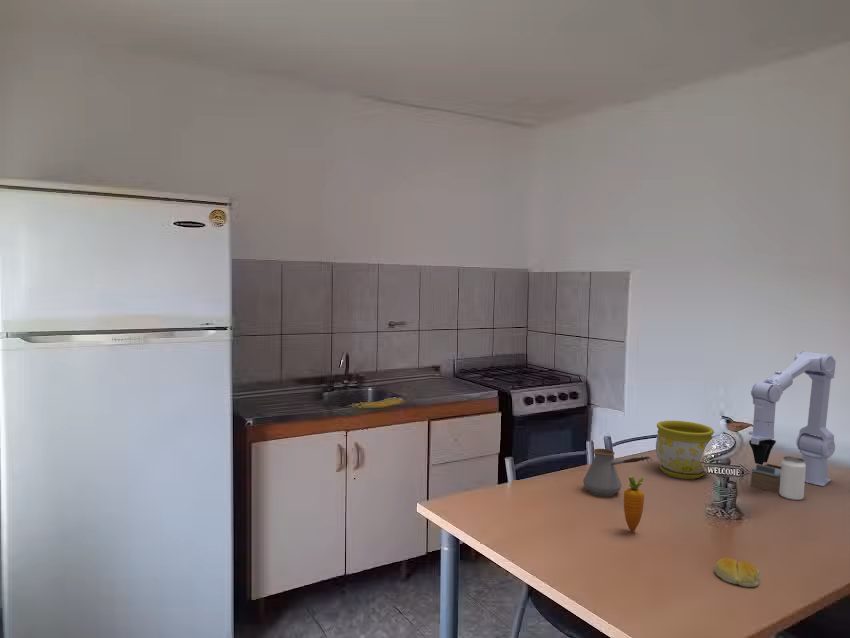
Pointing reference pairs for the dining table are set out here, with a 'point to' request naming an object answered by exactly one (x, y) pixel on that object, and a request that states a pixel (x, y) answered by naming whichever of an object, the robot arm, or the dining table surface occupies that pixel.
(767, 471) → the cover
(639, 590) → the dining table surface
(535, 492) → the dining table surface
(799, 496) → the can
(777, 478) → the brown rectangular box
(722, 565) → the bread roll
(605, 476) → the coffee pot
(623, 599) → the dining table surface
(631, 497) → the carrot
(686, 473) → the flowerpot
